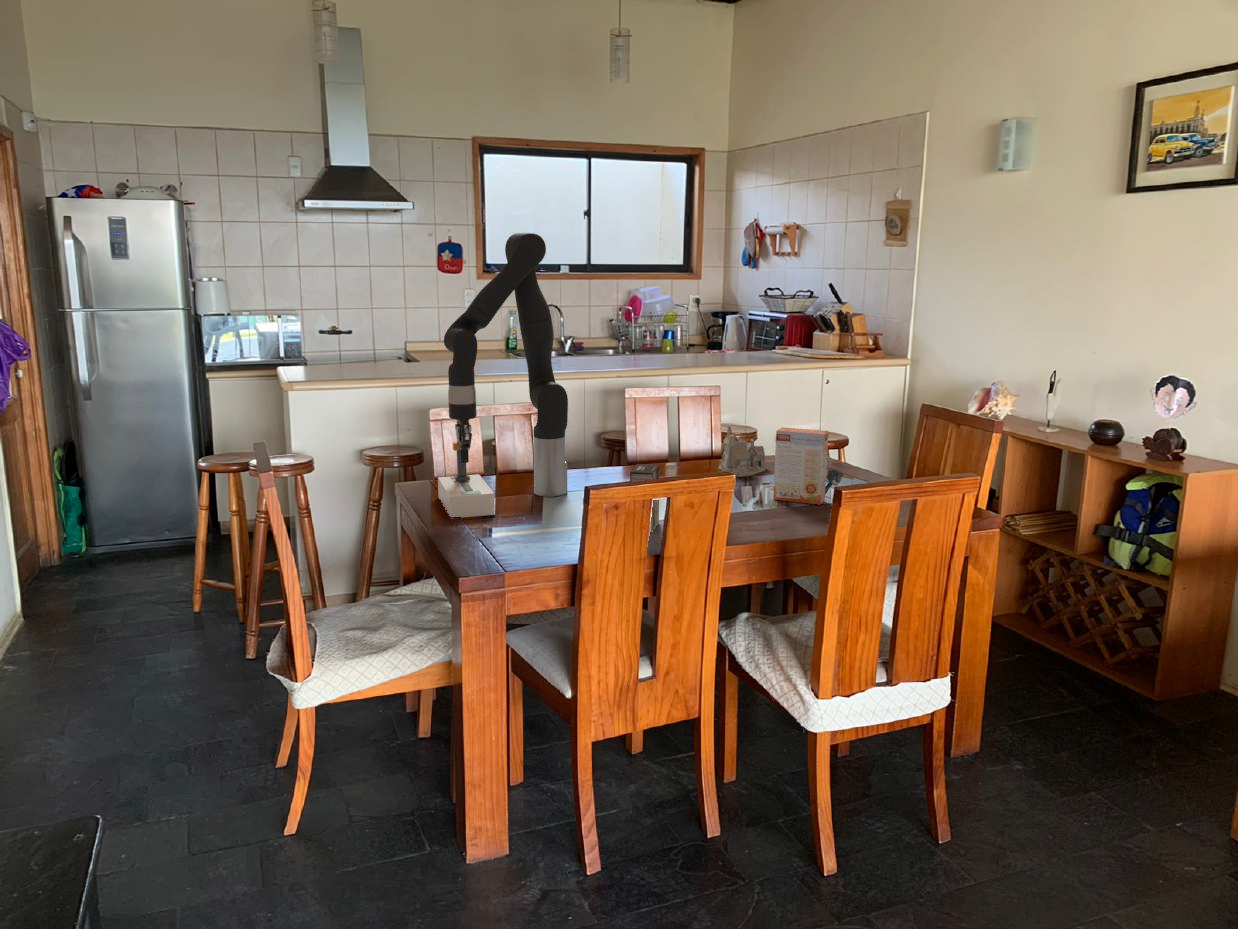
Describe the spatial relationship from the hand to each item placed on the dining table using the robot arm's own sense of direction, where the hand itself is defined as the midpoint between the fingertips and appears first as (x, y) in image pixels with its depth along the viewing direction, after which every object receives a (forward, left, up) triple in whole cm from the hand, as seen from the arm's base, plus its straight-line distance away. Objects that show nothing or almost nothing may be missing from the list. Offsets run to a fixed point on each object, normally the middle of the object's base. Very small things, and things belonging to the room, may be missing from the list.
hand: (464, 462), depth 259 cm
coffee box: (-41, +35, -13) cm, 55 cm away
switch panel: (0, +1, -12) cm, 13 cm away
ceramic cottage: (-93, -14, -13) cm, 95 cm away
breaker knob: (0, -4, -6) cm, 8 cm away
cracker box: (-93, +24, -13) cm, 97 cm away
